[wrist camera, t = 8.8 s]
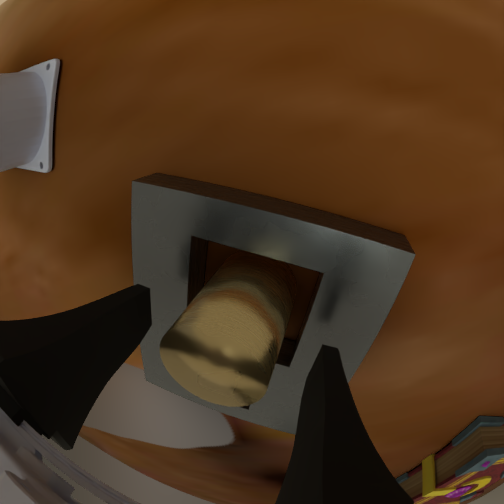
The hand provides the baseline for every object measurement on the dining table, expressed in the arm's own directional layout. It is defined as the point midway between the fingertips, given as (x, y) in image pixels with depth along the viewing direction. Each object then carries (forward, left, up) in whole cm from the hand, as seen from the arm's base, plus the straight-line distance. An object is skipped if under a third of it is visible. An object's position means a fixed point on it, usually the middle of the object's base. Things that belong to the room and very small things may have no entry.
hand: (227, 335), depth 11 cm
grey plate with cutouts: (0, -2, -4) cm, 5 cm away
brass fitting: (0, 0, -4) cm, 4 cm away
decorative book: (+26, -15, -5) cm, 30 cm away
